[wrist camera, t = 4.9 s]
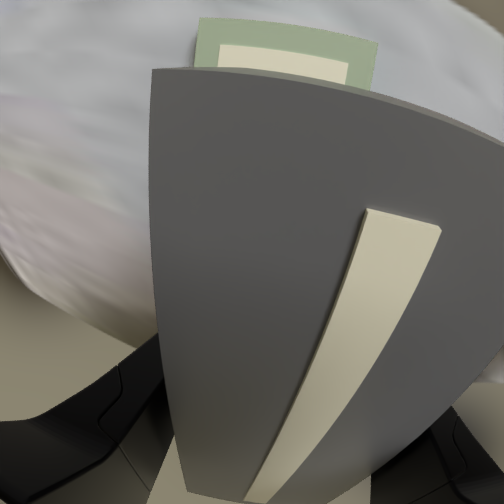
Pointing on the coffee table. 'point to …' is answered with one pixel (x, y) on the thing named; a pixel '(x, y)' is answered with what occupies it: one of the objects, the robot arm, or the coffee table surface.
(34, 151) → the coffee table surface
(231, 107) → the panel
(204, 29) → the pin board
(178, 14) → the coffee table surface
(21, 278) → the coffee table surface
